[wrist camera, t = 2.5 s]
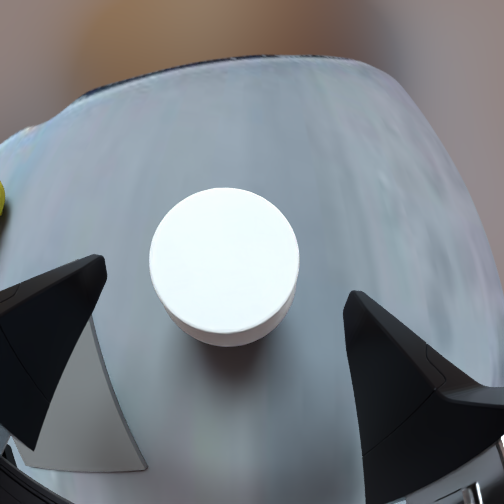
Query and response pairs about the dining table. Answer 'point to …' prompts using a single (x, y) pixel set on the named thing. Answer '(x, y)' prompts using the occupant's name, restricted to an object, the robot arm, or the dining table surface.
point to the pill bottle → (225, 266)
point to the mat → (84, 419)
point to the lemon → (2, 198)
